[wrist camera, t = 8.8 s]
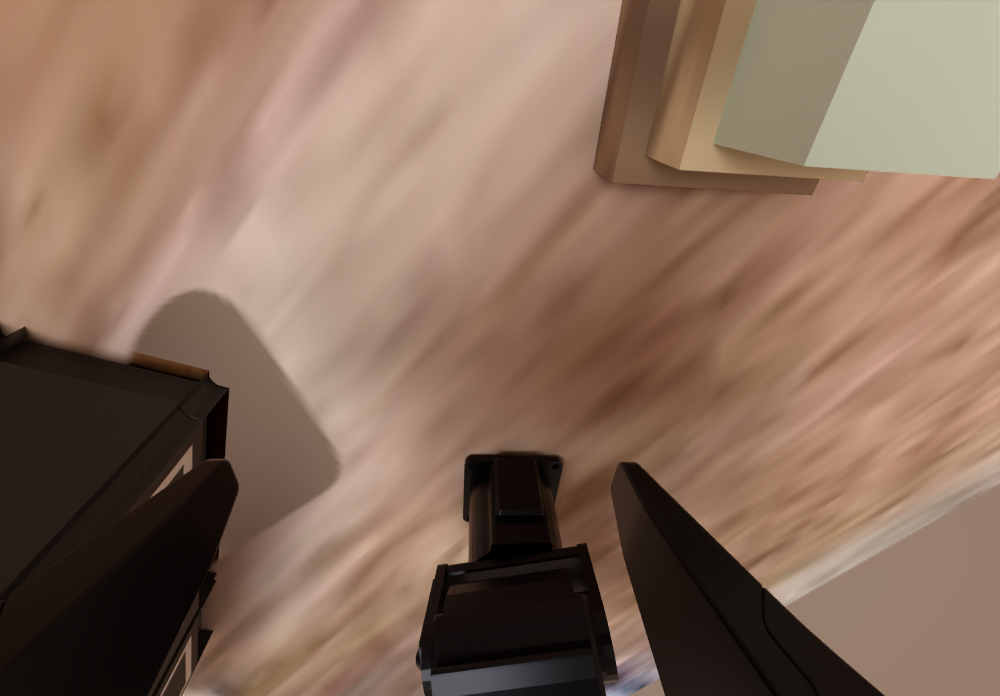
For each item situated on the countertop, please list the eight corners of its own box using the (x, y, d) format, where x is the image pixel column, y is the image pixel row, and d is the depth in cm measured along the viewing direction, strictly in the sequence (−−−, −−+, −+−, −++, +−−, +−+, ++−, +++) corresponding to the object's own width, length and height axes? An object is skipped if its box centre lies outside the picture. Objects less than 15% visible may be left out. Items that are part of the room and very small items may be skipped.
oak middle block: (799, 166, 15) (863, 181, 13) (645, 155, 15) (678, 169, 12) (891, -52, 12) (999, -88, 10) (698, -74, 12) (758, -117, 9)
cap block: (854, 153, 12) (994, 179, 9) (712, 143, 12) (803, 166, 9) (952, -49, 10) (1191, -115, 7) (778, -68, 10) (937, -149, 6)
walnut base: (766, 180, 19) (812, 195, 16) (593, 169, 18) (612, 183, 15) (861, -64, 14) (944, -96, 12) (638, -90, 14) (674, -129, 11)
